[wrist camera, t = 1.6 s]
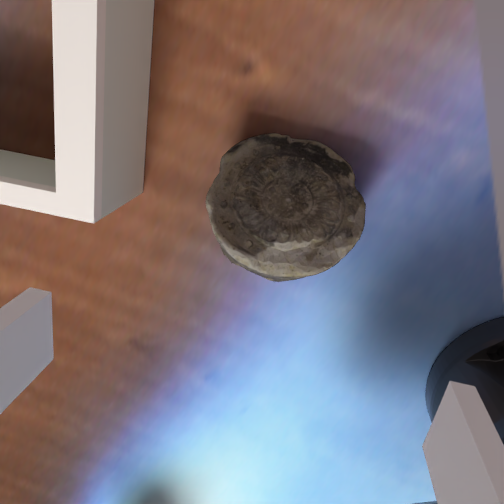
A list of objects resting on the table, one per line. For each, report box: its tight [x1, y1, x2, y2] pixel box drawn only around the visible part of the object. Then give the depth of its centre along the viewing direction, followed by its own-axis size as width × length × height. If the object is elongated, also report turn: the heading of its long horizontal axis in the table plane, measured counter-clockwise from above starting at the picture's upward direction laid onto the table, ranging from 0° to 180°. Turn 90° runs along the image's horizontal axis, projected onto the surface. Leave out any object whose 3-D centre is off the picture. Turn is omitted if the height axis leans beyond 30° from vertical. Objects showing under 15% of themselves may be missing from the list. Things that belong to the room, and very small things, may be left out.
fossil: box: [206, 133, 366, 282], centre depth 30 cm, size 11×9×10 cm
